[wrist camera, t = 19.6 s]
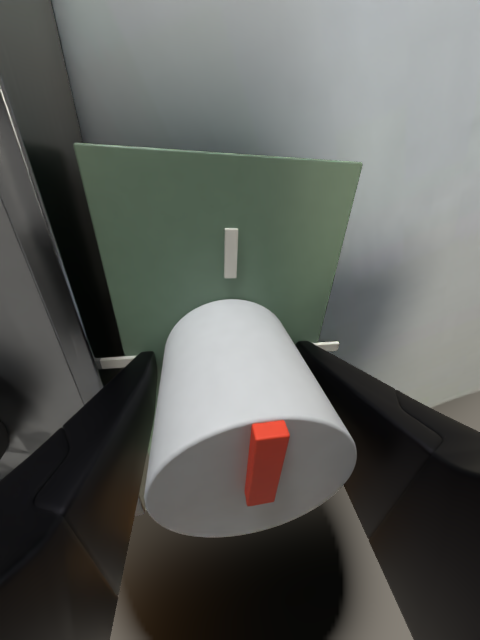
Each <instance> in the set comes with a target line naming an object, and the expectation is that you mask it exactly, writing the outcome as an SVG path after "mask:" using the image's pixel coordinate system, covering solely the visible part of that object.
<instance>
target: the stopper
mask: <svg viewBox="0 0 480 640" xmlns="http://www.w3.org/2000/svg"><path fill="white" fill-rule="evenodd" d="M7 447H8V433H7V430H6V428H5V426H4V425H3V423H2V422H1V420H0V459H1V458H2V456H3V455H4V453H5V451H6V449H7Z"/></svg>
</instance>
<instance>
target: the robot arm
mask: <svg viewBox="0 0 480 640" xmlns="http://www.w3.org/2000/svg"><path fill="white" fill-rule="evenodd" d="M295 346H296V348H297V349H298V351H299V352H300V354H301V356H302V357H303V359H304V361H305V362H306V364H307V365H308V367H309V369H310V370H311V372H312V374H313V375H314V377H315V378H316V380H317V382H318V383H319V385H320V387H321V388H322V390H323V391H324V393H325V395H326V396H327V398H328V400H329V401H330V403H331V404H332V406H333V408H334V409H335V411H336V412H337V414H338V416H339V417H340V419H341V421H342V422H343V424H344V425H345V427H346V429H347V430H348V432H349V434H350V435H351V437H352V438H353V440H354V442H355V446H356V450H357V459H356V465H355V467H354V470H353V472H352V474H351V475H350V477H349V479H348V480H347V481H346V482H345V484H344V487H345V489H346V491H347V493H348V496H349V498H350V500H351V502H352V504H353V507H354V509H355V511H356V513H357V516H358V518H359V520H360V522H361V524H362V527H363V529H364V531H365V533H366V535H367V537H368V539H369V542H370V544H371V547H372V549H373V551H374V553H375V556H376V558H377V560H378V562H379V564H380V566H381V569H382V571H383V573H384V575H385V577H386V579H387V582H388V584H389V586H390V589H391V591H392V593H393V595H394V597H395V600H396V602H397V604H398V606H399V608H400V611H401V613H402V615H403V617H404V619H405V621H406V624H407V626H408V628H409V630H410V632H411V635H412V637H413V639H414V640H480V432H478V431H476V430H474V429H472V428H470V427H468V426H466V425H464V424H462V423H460V422H457V421H455V420H453V419H451V418H449V417H447V416H445V415H443V414H441V413H439V412H437V411H435V410H433V409H431V408H429V407H427V406H425V405H423V404H422V403H420V402H418V401H416V400H414V399H412V398H410V397H409V396H407V395H405V394H403V393H401V392H400V391H398V390H395V389H394V388H392V387H391V386H389V385H387V384H385V383H383V382H382V381H380V380H378V379H376V378H374V377H372V376H371V375H369V374H367V373H365V372H363V371H362V370H360V369H358V368H356V367H354V366H353V365H351V364H349V363H347V362H345V361H344V360H342V359H340V358H338V357H336V356H335V355H333V354H331V353H329V352H327V351H326V350H324V349H322V348H320V347H318V346H317V345H315V344H313V343H311V342H309V341H298V342H297V343H296V345H295ZM156 389H157V365H156V359H155V353H154V352H153V351H144V352H140V353H139V354H138V355H137V356H136V357H135V358H134V359H133V360H132V361H131V362H130V363H129V364H127V365H126V366H125V367H124V368H123V369H122V370H121V371H120V372H119V373H118V374H117V375H116V376H115V377H114V378H113V379H112V380H110V381H109V382H108V383H107V384H106V385H105V386H104V387H103V388H102V389H101V390H100V391H99V392H98V393H97V394H96V395H95V396H93V397H92V398H91V399H90V400H89V401H88V402H87V403H86V404H85V405H84V406H83V407H82V408H81V409H80V410H79V411H77V412H76V413H75V414H74V415H73V416H72V417H71V418H70V419H69V420H68V421H67V422H66V423H65V424H64V425H63V428H59V429H58V430H57V431H56V432H55V433H54V434H53V435H52V436H51V437H50V438H49V439H48V440H46V441H45V442H44V443H43V444H42V445H41V446H40V447H39V448H38V449H36V450H35V451H34V452H33V453H32V454H31V455H30V456H29V457H28V458H26V459H25V460H24V461H23V462H22V463H20V464H19V465H18V466H17V467H16V468H15V469H13V470H12V471H11V472H10V473H9V474H7V475H6V476H5V477H4V478H3V479H2V480H0V640H110V636H111V631H112V626H113V621H114V616H115V611H116V606H117V601H118V594H119V590H120V586H121V581H122V575H123V570H124V565H125V561H126V556H127V551H128V546H129V541H130V535H131V531H132V526H133V521H134V516H135V511H136V506H137V501H138V496H139V491H140V486H141V481H142V476H143V471H144V466H145V461H146V456H147V451H148V446H149V441H150V437H151V432H152V427H153V421H154V415H155V403H156Z"/></svg>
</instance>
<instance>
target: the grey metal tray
mask: <svg viewBox="0 0 480 640" xmlns="http://www.w3.org/2000/svg"><path fill="white" fill-rule="evenodd" d="M74 143H83V141H82V136H81V132H80V128H79V123H78V119H77V114H76V110H75V106H74V101H73V97H72V92H71V88H70V83H69V79H68V75H67V70H66V66H65V61H64V57H63V53H62V48H61V44H60V39H59V35H58V31H57V26H56V22H55V17H54V13H53V9H52V4H51V0H0V198H1V201H2V203H3V206H4V208H5V211H6V213H7V216H8V218H9V221H10V223H11V226H12V228H13V231H14V233H15V236H16V238H17V241H18V243H19V246H20V248H21V250H22V253H23V255H24V258H25V260H26V263H27V265H28V268H29V270H30V273H31V275H32V278H33V280H34V283H35V285H36V288H37V290H38V293H39V295H40V298H41V300H42V303H43V305H44V308H45V310H46V313H47V315H48V317H49V320H50V322H51V325H52V327H53V330H54V332H55V335H56V337H57V340H58V342H59V345H60V347H61V350H62V352H63V355H64V357H65V360H66V362H67V365H68V367H69V370H70V372H71V375H72V377H73V379H74V382H75V384H76V387H77V389H78V392H79V394H80V397H81V399H82V402H83V404H84V405H85V404H86V403H87V402H88V401H89V400H90V399H91V398H92V397H93V396H95V395H96V394H97V393H98V392H99V391H100V390H101V389H102V388H103V387H104V386H105V385H106V384H107V383H108V382H109V381H110V380H112V379H113V378H114V377H115V376H116V375H117V374H118V373H119V372H120V371H121V370H122V369H123V368H124V367H122V368H110V369H102V366H101V363H100V360H101V358H108V357H122V356H125V355H124V351H123V347H122V343H121V339H120V335H119V331H118V326H117V322H116V318H115V314H114V310H113V306H112V302H111V298H110V294H109V290H108V285H107V281H106V277H105V273H104V269H103V265H102V261H101V257H100V253H99V249H98V245H97V240H96V236H95V232H94V228H93V224H92V220H91V216H90V212H89V208H88V204H87V200H86V195H85V191H84V187H83V183H82V179H81V175H80V171H79V167H78V163H77V159H76V155H75V150H74V146H73V145H74ZM148 463H149V453H148V451H147V456H146V461H145V466H144V471H143V476H142V481H141V486H140V491H139V496H138V501H137V506H136V511H135V516H138V515H143V514H144V513H145V507H146V506H145V501H144V493H145V485H146V478H147V471H148Z"/></svg>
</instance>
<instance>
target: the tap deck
mask: <svg viewBox="0 0 480 640" xmlns="http://www.w3.org/2000/svg"><path fill="white" fill-rule="evenodd" d="M73 146H74V150H75V155H76V159H77V163H78V167H79V171H80V175H81V179H82V183H83V187H84V191H85V195H86V200H87V204H88V208H89V212H90V216H91V220H92V224H93V228H94V232H95V236H96V240H97V245H98V249H99V253H100V257H101V261H102V265H103V269H104V273H105V277H106V281H107V285H108V290H109V294H110V298H111V302H112V306H113V310H114V314H115V318H116V322H117V326H118V331H119V335H120V339H121V343H122V347H123V351H124V355H125V356H122V357H108V358H101V360H100V363H101V366H102V369H110V368H122V367H125V366H126V365H127V364H129V363H130V362H131V361H132V360H133V359H134V358H135V357H136V356H137V355H138V354H139V353H140V352H144V351H153V352H154V353H155V359H156V365H157V389H156V403H155V414H156V407H157V400H158V393H159V386H160V379H161V372H162V365H163V358H164V350H165V345H166V341H167V338H168V336H169V334H170V332H171V331H172V329H173V328H174V326H175V325H176V324H177V323H178V322H179V321H180V319H182V318H183V317H184V316H185V315H186V314H188V313H189V312H191V311H192V310H194V309H196V308H198V307H200V306H202V305H204V304H207V303H210V302H214V301H218V300H226V299H239V300H246V301H250V302H254V303H257V304H259V305H261V306H263V307H265V308H267V309H268V310H270V311H271V312H272V313H273V314H275V315H276V317H277V318H278V319H279V320H280V322H281V323H282V325H283V327H284V328H285V330H286V331H287V333H288V335H289V336H290V338H291V339H292V341H293V343H294V344H295V345H296V343H297V342H298V341H309V342H311V343H313V344H315V345H317V346H318V347H320V348H322V349H324V350H326V351H337V350H338V347H339V342H338V341H334V342H319V343H318V339H319V335H320V332H321V328H322V324H323V320H324V316H325V312H326V308H327V304H328V300H329V296H330V292H331V288H332V284H333V280H334V276H335V272H336V268H337V264H338V260H339V256H340V252H341V248H342V244H343V240H344V236H345V232H346V228H347V224H348V220H349V216H350V212H351V208H352V204H353V201H354V197H355V193H356V189H357V185H358V181H359V177H360V173H361V169H362V163H361V162H351V161H337V160H322V159H308V158H293V157H278V156H264V155H249V154H235V153H220V152H206V151H191V150H177V149H162V148H148V147H133V146H119V145H104V144H90V143H74V145H73ZM154 421H155V415H154ZM154 421H153V427H152V432H151V437H150V441H149V446H148V453H149V456H150V449H151V442H152V435H153V428H154Z"/></svg>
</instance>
